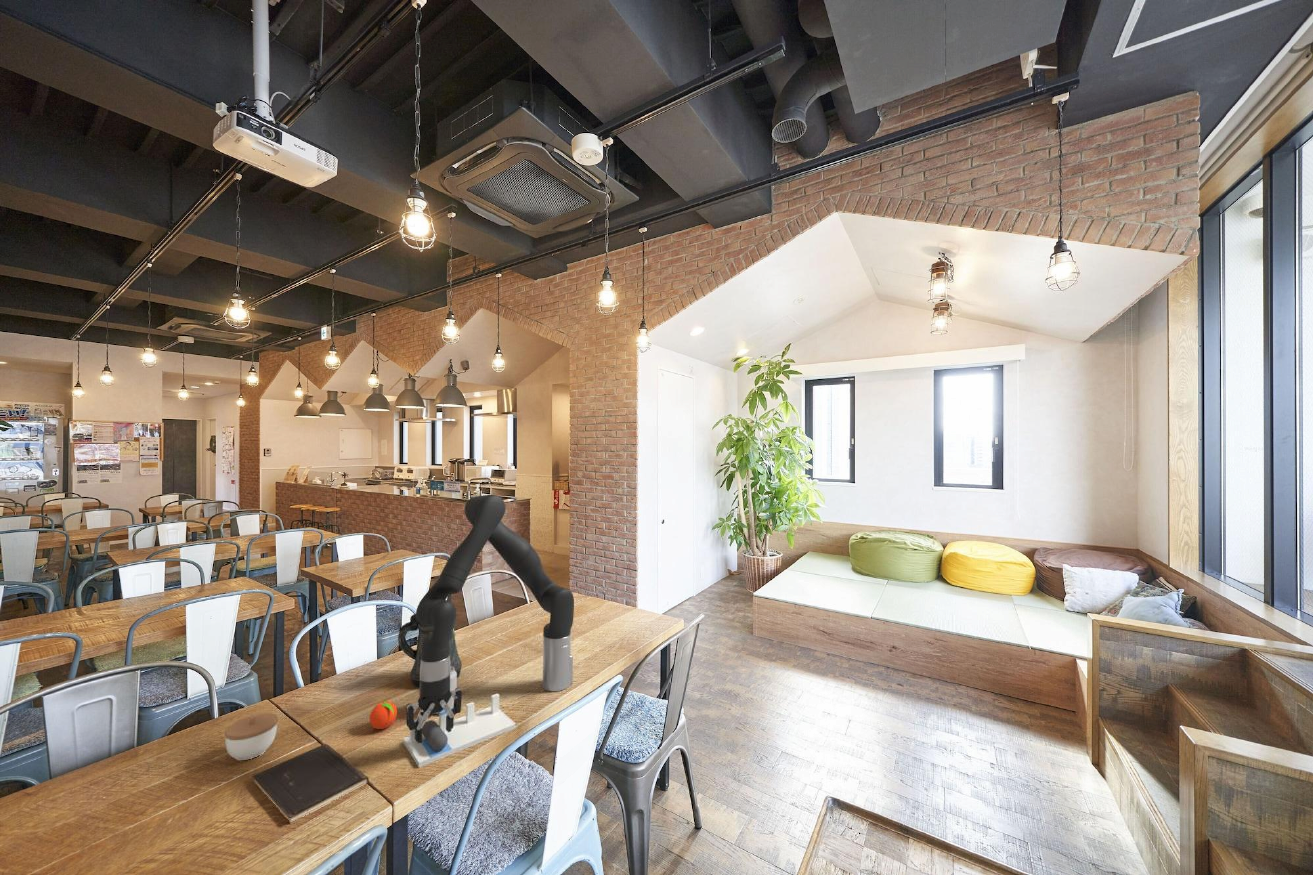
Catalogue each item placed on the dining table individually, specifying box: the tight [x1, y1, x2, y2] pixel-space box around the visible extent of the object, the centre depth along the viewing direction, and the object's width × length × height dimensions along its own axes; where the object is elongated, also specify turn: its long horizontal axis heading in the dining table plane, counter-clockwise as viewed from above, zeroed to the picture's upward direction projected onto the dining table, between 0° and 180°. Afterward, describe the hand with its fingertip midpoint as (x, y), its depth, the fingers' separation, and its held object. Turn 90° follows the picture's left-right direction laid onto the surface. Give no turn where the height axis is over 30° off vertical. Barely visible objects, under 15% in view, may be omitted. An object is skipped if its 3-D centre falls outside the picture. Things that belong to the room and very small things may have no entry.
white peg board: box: [402, 693, 517, 768], centre depth 135 cm, size 26×14×7 cm, turn 132°
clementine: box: [369, 700, 398, 730], centre depth 139 cm, size 8×7×7 cm
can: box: [433, 666, 458, 715], centre depth 149 cm, size 8×8×12 cm
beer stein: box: [397, 613, 463, 689], centre depth 169 cm, size 16×19×25 cm
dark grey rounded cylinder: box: [421, 719, 448, 751], centre depth 129 cm, size 12×4×4 cm, turn 42°
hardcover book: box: [251, 743, 369, 823], centre depth 115 cm, size 16×23×2 cm
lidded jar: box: [224, 712, 279, 760], centre depth 127 cm, size 11×11×9 cm
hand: (434, 736), depth 129 cm, fingers open, 7 cm apart
